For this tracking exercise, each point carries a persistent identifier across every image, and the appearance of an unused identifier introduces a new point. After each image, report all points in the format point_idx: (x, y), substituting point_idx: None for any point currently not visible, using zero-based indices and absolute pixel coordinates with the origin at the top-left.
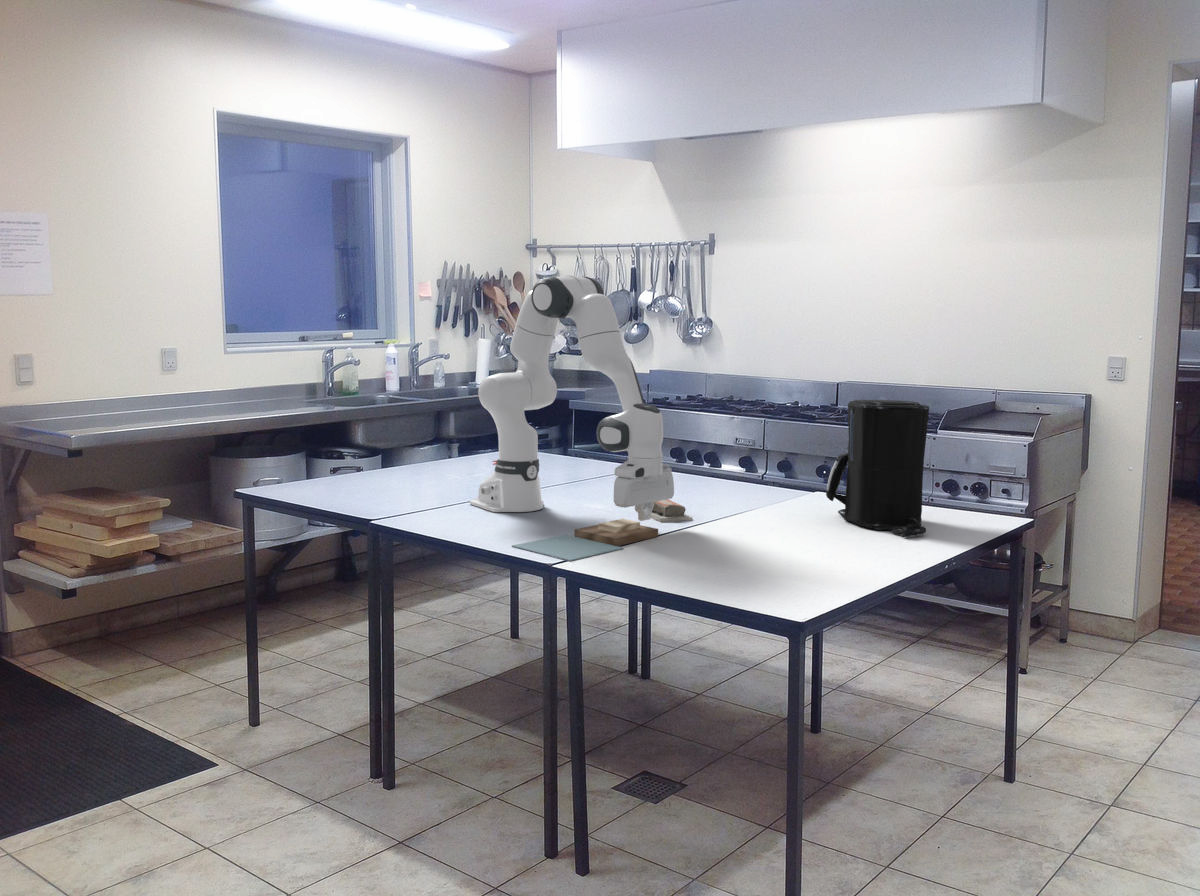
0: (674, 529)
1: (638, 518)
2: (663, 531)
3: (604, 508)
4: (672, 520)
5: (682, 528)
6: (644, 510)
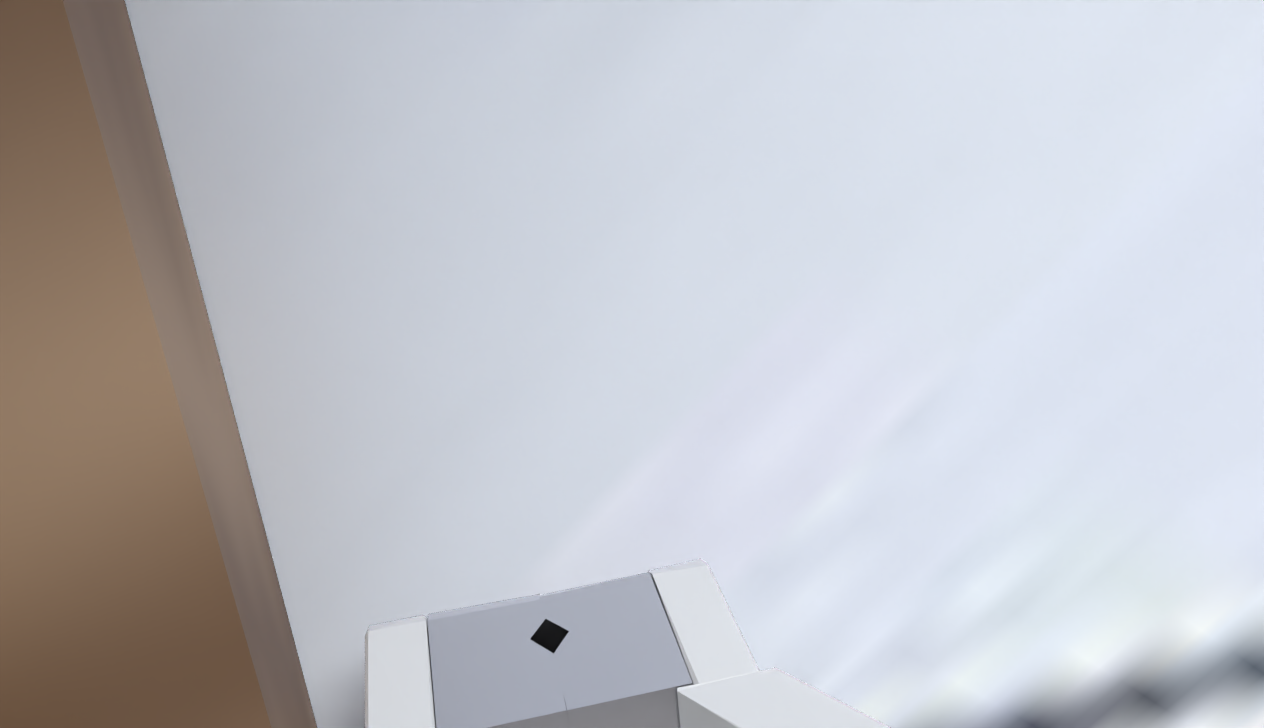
0: (1070, 658)
1: (366, 649)
2: None
3: None
4: None
5: (1228, 658)
6: (717, 721)
